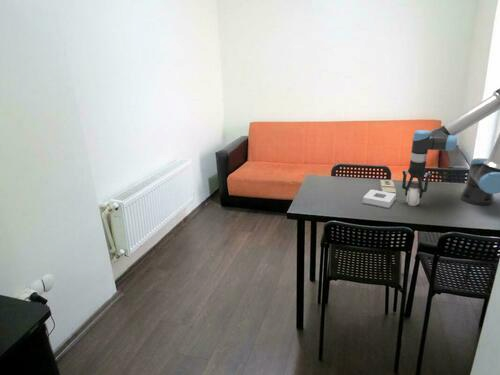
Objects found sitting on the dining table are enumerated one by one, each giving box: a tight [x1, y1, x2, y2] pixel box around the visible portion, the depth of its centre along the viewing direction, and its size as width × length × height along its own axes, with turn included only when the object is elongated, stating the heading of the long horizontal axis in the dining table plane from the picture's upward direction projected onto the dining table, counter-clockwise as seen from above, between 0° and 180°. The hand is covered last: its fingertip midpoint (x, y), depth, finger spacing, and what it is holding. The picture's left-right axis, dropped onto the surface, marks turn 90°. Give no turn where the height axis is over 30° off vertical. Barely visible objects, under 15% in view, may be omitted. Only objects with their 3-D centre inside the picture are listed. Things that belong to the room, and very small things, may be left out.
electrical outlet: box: [379, 179, 397, 195], centre depth 208 cm, size 7×4×18 cm
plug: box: [407, 181, 420, 207], centre depth 186 cm, size 5×5×12 cm
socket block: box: [362, 189, 397, 209], centre depth 193 cm, size 14×14×4 cm
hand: (412, 202), depth 188 cm, fingers closed on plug, 4 cm apart
